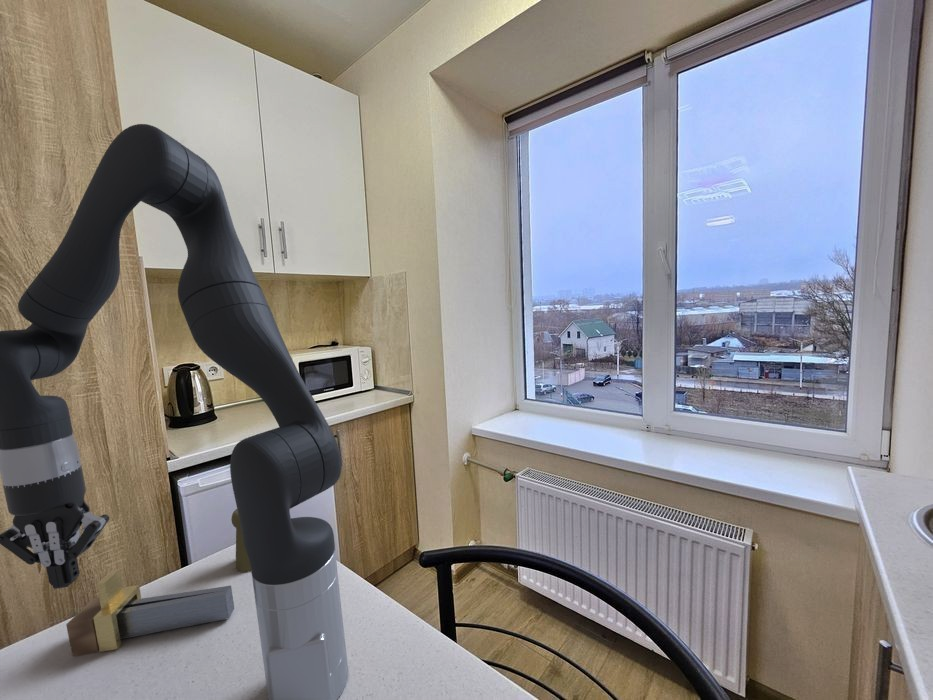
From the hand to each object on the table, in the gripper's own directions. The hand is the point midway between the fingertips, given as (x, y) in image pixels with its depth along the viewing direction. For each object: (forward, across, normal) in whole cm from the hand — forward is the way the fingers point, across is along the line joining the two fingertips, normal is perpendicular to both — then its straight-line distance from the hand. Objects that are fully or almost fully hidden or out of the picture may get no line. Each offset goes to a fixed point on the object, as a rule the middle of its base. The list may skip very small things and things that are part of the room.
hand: (65, 584), depth 56 cm
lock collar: (+9, -6, 0) cm, 11 cm away
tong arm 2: (+9, -14, 0) cm, 16 cm away
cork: (+9, -20, -14) cm, 26 cm away
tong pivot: (+9, -3, 0) cm, 10 cm away
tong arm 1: (+9, -14, +1) cm, 16 cm away
